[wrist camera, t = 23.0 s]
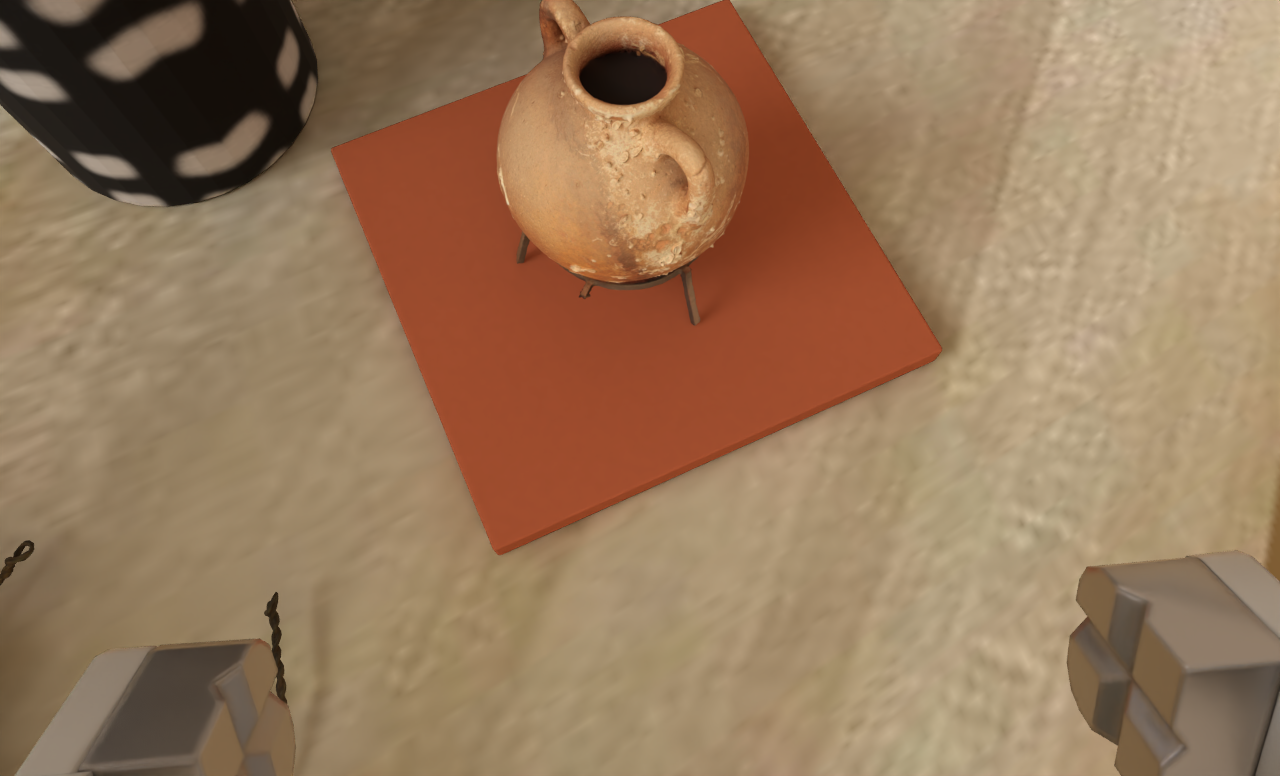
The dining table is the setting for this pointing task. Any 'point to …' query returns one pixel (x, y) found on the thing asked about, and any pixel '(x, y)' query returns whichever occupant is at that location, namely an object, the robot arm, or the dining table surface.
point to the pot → (621, 152)
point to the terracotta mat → (625, 308)
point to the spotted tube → (158, 90)
